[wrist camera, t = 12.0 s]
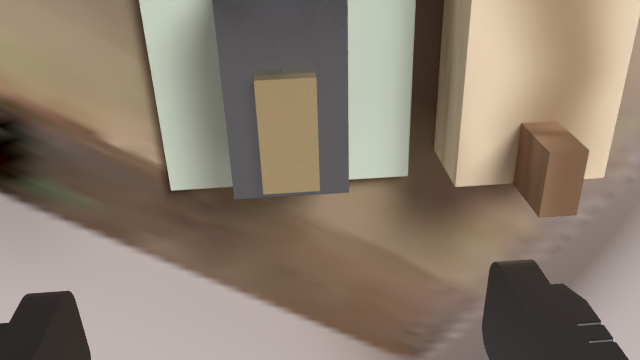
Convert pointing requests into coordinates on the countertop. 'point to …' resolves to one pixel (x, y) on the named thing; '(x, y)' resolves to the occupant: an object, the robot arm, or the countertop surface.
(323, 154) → the dark gray block
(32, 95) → the countertop surface
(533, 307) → the robot arm
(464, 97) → the body
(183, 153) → the mat
